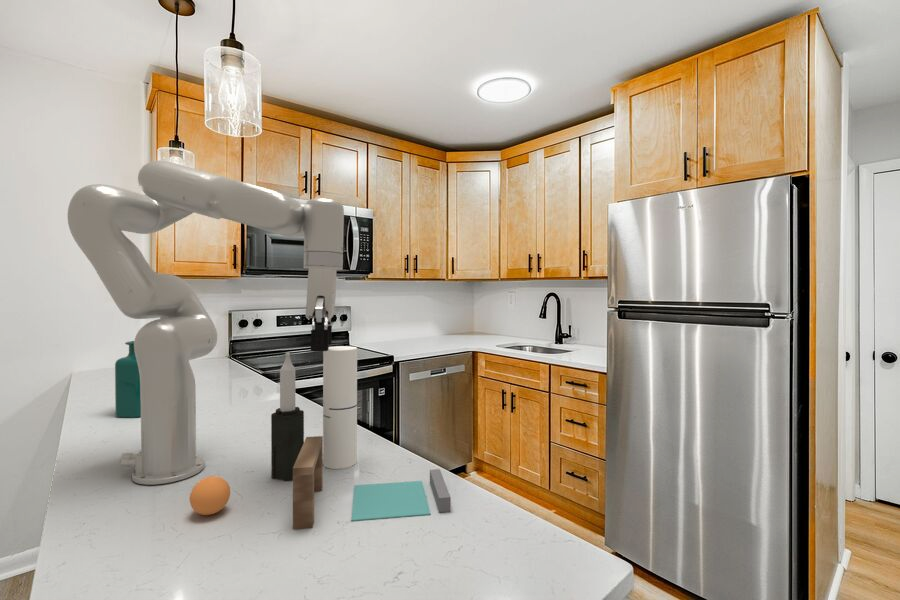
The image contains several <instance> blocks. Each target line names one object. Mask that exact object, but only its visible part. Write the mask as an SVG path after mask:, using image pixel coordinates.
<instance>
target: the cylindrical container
mask: <svg viewBox="0 0 900 600" xmlns="http://www.w3.org/2000/svg"><path fill="white" fill-rule="evenodd" d="M322 355H323V356H322V360H323V361H322V363H323V364H322V366H323V367H322V369H323V371H322V372H323V373H322V381H323V382H322V390H323V391H322V392H323V393H322V397H323V398H322V426H323V427H322V436H323V467H324V468H326V467H327V469H330V470H331V469H332V470H343V469H346V468H347V467H348V468H350V466H351V467H353V466H355V465H356V464H357V462H358V419H357V418H358V347H356V346H349V345H345V346H344V345H339V346H338V345H336V346H328V351H322ZM354 464H355V465H354ZM352 465H353V466H352ZM348 468H347V469H348Z"/></svg>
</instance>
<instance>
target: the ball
mask: <svg viewBox="0 0 900 600" xmlns="http://www.w3.org/2000/svg"><path fill="white" fill-rule="evenodd" d="M189 494H190V495H189V504H190V507H191V509H192V510H193V511H194V512H195V513H197V514H199V515H202V516H210V515H214V514H216V513H218V512H220V511H221V510H222V509H224V508H225V507H226V505H227V504H228V503H229V500H230V496H231V488H230V485H229V483H228V482H227V480H226V479H225V478H223V477H221V476H215V475H214V476H213V475H211V476H207V477H204V478H202V479H200V480H199V481H198V482H196V484H195V485H194V486H193V488H192V489H191V492H190V493H189Z"/></svg>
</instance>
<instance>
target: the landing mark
mask: <svg viewBox="0 0 900 600" xmlns="http://www.w3.org/2000/svg"><path fill="white" fill-rule="evenodd" d="M353 487H354V488H353V499H352V510H351V511H352V512H351V522H359V521H370V520H382V519H394V518H396V519H397V518H407V517H409V518H410V517H419V516H420V517H421V516H430V515H431V509H430V506H429V503H428V499H427V495H426V492H425V487H424V484H423V480H415V481H413V480H412V481H399V482H398V481H397V482H386V483H385V482H384V483H383V482H382V483H372V484H371V483H369V484H354V486H353Z"/></svg>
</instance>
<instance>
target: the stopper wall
mask: <svg viewBox="0 0 900 600" xmlns="http://www.w3.org/2000/svg"><path fill="white" fill-rule="evenodd" d="M429 485H430V489H431V492H432V494H433V498H434V502H435V504H436V508H437V511H438V513H449V512H451V504H452V503H451V494H450V493H449V489H448V487H447V484H446V481H445V480H444V477H443V474H442V471H441V469H440V468H435V469H429Z"/></svg>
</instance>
